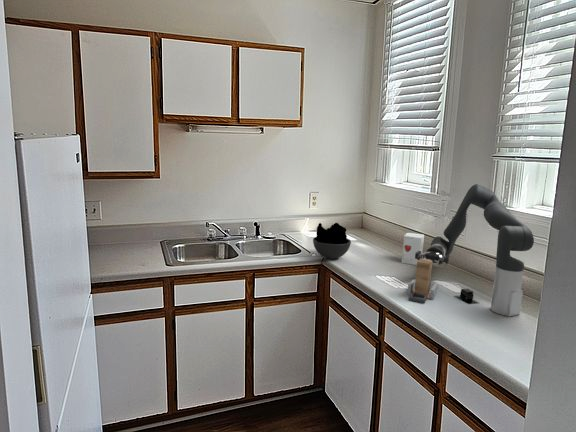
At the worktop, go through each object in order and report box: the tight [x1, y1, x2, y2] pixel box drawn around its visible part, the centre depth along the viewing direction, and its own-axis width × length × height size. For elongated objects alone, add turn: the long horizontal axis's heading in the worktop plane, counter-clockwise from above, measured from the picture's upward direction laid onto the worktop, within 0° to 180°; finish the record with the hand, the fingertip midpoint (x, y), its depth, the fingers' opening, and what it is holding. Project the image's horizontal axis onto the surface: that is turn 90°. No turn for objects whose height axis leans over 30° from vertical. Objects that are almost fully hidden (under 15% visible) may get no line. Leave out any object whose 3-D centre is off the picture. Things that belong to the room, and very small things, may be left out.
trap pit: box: [408, 293, 428, 305], centre depth 171 cm, size 6×6×2 cm
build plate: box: [453, 287, 480, 305], centre depth 173 cm, size 12×7×5 cm, turn 17°
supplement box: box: [401, 232, 425, 266], centre depth 222 cm, size 9×9×15 cm
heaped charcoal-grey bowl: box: [312, 222, 352, 260], centre depth 224 cm, size 20×20×19 cm
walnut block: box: [414, 258, 433, 295], centre depth 175 cm, size 5×5×14 cm
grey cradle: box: [406, 279, 439, 301], centre depth 177 cm, size 9×10×4 cm
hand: (429, 260), depth 183 cm, fingers open, 8 cm apart
